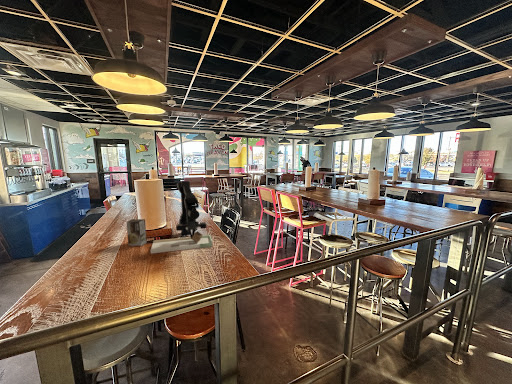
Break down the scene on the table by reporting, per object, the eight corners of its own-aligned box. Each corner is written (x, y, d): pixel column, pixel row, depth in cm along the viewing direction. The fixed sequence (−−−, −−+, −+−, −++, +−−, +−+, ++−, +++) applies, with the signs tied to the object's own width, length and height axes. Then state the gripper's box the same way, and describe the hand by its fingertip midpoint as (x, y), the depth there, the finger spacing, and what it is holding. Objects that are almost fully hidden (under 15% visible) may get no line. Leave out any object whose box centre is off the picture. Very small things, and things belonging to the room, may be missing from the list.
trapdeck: (153, 245, 135) (153, 240, 134) (210, 239, 146) (210, 234, 146) (150, 253, 124) (150, 247, 123) (212, 246, 135) (212, 240, 134)
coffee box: (147, 242, 141) (145, 219, 139) (141, 246, 135) (139, 221, 132) (134, 241, 142) (132, 218, 140) (127, 245, 135) (125, 221, 133)
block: (194, 236, 139) (197, 231, 139) (199, 240, 139) (203, 234, 139) (191, 239, 135) (194, 233, 134) (197, 242, 135) (200, 236, 134)
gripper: (175, 220, 126) (176, 244, 128) (206, 217, 132) (207, 241, 134) (176, 215, 136) (177, 238, 138) (205, 213, 142) (206, 235, 144)
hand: (192, 238), depth 138 cm, fingers closed
